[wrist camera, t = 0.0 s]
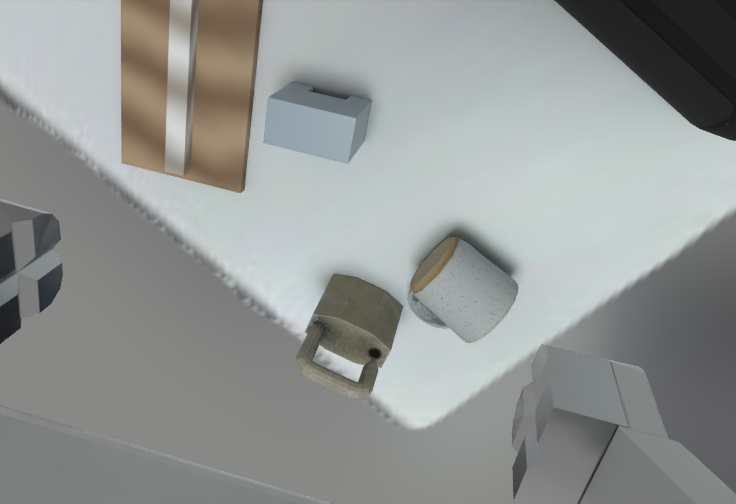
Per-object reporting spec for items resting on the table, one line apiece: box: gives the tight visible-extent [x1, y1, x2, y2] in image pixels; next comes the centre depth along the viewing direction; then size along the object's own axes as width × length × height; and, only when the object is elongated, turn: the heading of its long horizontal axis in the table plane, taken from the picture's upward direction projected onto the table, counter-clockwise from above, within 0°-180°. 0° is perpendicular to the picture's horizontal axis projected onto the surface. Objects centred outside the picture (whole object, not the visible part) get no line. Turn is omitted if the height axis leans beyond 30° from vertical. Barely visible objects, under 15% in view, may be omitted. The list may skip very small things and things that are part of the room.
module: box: [263, 82, 372, 164], centre depth 55 cm, size 4×8×7 cm, turn 80°
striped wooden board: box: [121, 0, 263, 193], centre depth 58 cm, size 20×13×2 cm, turn 170°
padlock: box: [296, 274, 403, 399], centre depth 60 cm, size 4×8×15 cm, turn 67°
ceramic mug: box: [408, 237, 518, 343], centre depth 60 cm, size 11×8×8 cm
